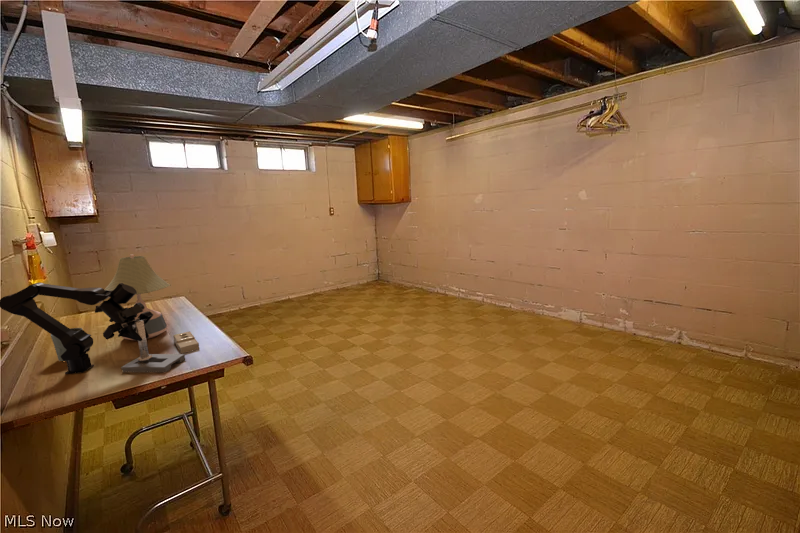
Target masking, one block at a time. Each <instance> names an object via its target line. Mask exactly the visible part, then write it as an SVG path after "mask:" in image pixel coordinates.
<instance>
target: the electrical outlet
mask: <svg viewBox="0 0 800 533" xmlns="http://www.w3.org/2000/svg"><path fill="white" fill-rule="evenodd" d="M172 336H173V342H174V345H175V346H176V347H178V348H177V349H178V351H179V352H180V354H181V353H182V354H186V353H188V352H189V353H190V352H193V351H196V349H197V350H200V343H199V342H198V340H197V339H196V337H195V336H194V334H192V332H191V331H185V332H182V333H177V334H173V335H172ZM192 350H193V351H192Z"/></svg>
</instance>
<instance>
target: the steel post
mask: <svg viewBox="0 0 800 533" xmlns="http://www.w3.org/2000/svg"><path fill="white" fill-rule="evenodd" d="M135 327H136V333H137V334H138V335H139V336H140V337H141V338H142V341H137V343H138V349H139V350H138V351H139V357H137V358H138V361H147V360H149V359H151V358H152V355H150V354H151V353H149V348H148V341H147V340H148V339H146V334H145V328H144V321H143V320H139V321H135Z"/></svg>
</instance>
